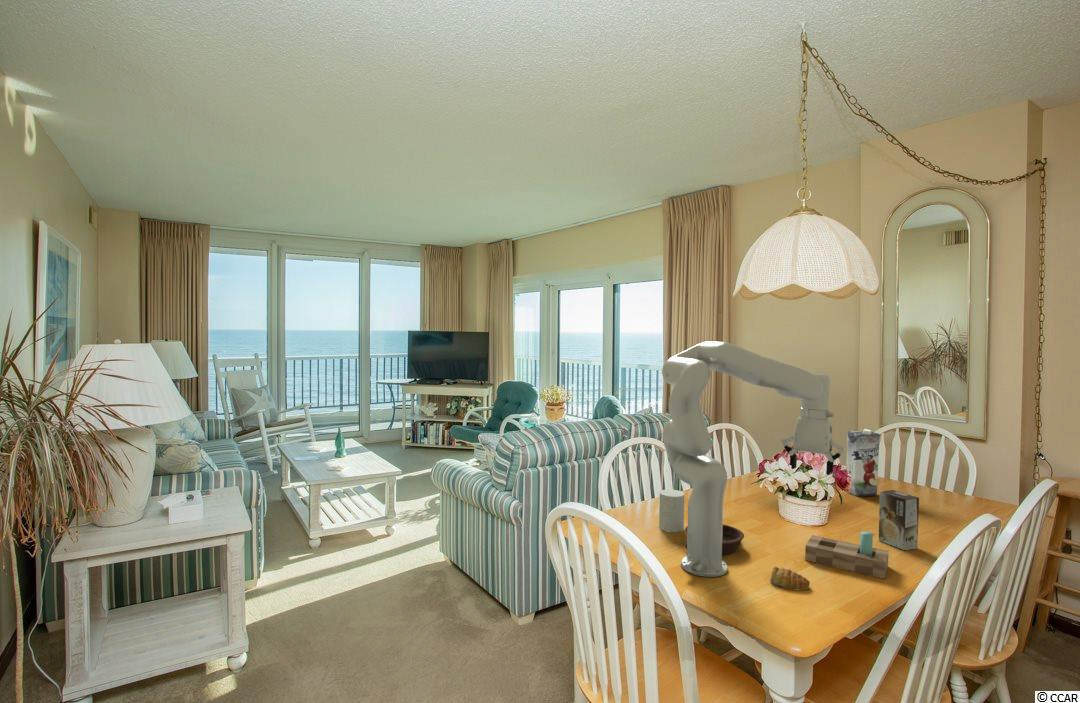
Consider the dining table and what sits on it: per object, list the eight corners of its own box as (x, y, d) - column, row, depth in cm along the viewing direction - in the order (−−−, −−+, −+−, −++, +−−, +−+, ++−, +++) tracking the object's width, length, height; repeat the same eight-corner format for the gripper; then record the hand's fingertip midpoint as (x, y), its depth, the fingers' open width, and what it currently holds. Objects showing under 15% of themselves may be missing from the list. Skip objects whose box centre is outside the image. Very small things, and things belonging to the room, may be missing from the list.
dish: (760, 549, 172) (760, 533, 172) (712, 565, 160) (712, 548, 160) (715, 531, 187) (715, 516, 187) (667, 544, 175) (668, 529, 175)
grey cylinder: (654, 525, 191) (654, 491, 191) (672, 522, 195) (673, 488, 194) (669, 533, 184) (670, 497, 183) (688, 529, 188) (689, 494, 187)
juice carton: (842, 491, 233) (844, 427, 231) (864, 490, 235) (866, 426, 233) (857, 497, 224) (860, 431, 223) (880, 496, 226) (883, 430, 225)
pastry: (810, 584, 149) (811, 570, 149) (807, 595, 143) (807, 580, 143) (773, 575, 154) (773, 562, 154) (768, 585, 148) (769, 571, 148)
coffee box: (918, 548, 173) (921, 497, 172) (904, 551, 171) (906, 499, 170) (891, 537, 182) (892, 489, 181) (876, 540, 180) (878, 491, 179)
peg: (870, 571, 157) (872, 536, 156) (858, 568, 159) (859, 533, 158) (872, 567, 159) (873, 532, 159) (860, 564, 161) (861, 530, 161)
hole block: (884, 579, 152) (885, 562, 152) (805, 560, 164) (805, 545, 164) (888, 566, 160) (888, 551, 160) (811, 549, 172) (812, 535, 172)
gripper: (848, 416, 164) (845, 474, 165) (786, 410, 175) (783, 464, 176) (844, 419, 159) (840, 479, 159) (780, 412, 169) (777, 468, 170)
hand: (810, 471), depth 168 cm, fingers open, 9 cm apart
